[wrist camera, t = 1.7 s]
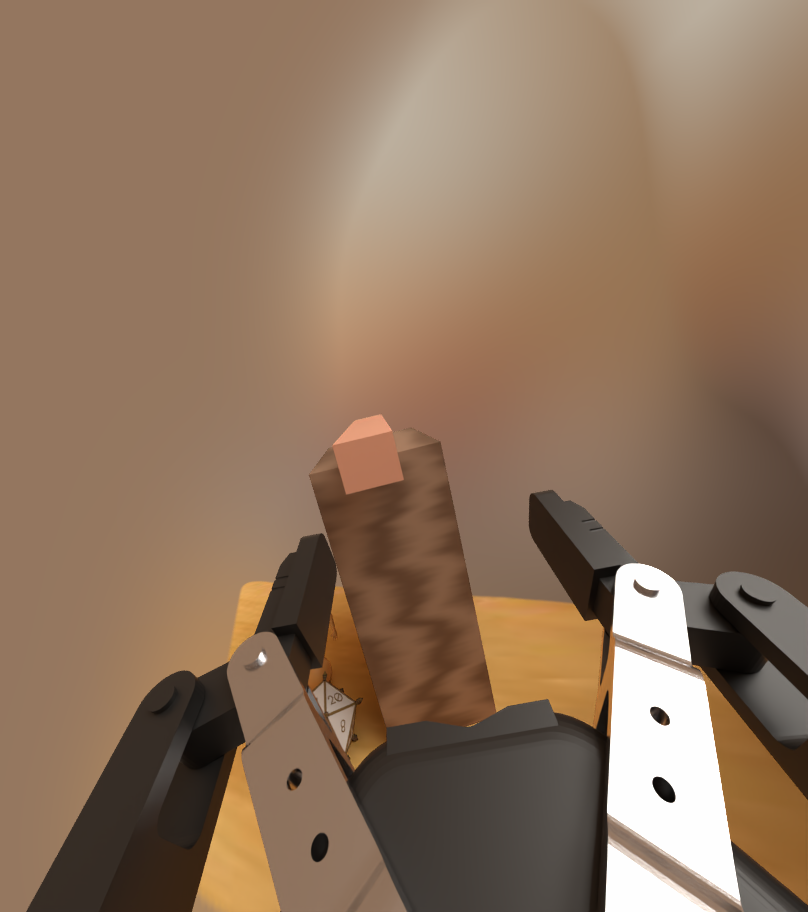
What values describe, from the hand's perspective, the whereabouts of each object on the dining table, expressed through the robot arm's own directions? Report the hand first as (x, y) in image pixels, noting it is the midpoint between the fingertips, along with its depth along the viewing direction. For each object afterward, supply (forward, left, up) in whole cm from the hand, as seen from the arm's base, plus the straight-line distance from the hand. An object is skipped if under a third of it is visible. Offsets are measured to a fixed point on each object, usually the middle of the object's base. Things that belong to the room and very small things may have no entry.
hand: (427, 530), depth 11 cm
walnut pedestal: (+1, -23, -32) cm, 39 cm away
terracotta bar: (+1, -17, 0) cm, 17 cm away
